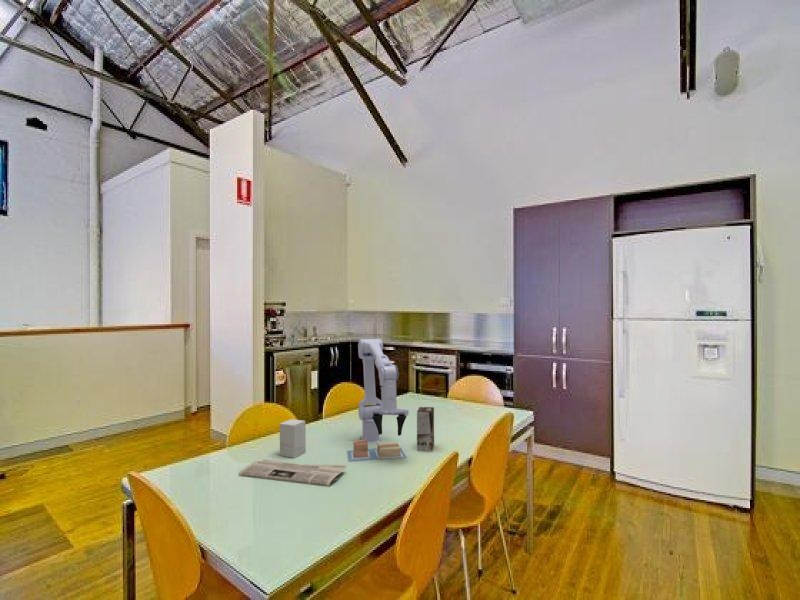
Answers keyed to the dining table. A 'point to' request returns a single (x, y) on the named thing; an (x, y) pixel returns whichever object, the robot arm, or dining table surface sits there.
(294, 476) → the newspaper
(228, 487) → the dining table surface
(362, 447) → the top block
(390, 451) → the base block
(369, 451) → the blueprint board
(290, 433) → the supplement box
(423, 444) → the coffee box
